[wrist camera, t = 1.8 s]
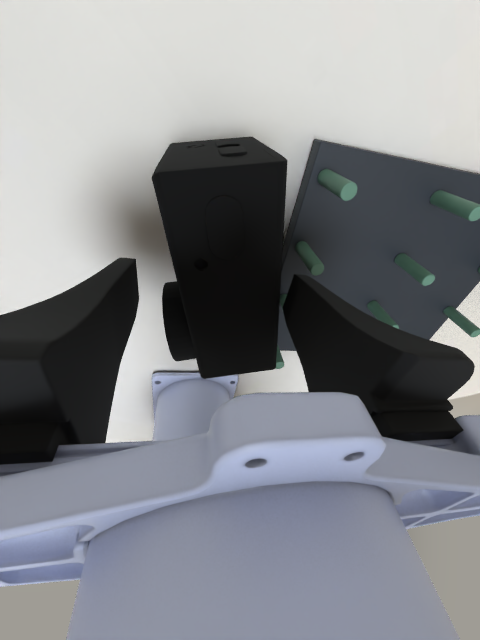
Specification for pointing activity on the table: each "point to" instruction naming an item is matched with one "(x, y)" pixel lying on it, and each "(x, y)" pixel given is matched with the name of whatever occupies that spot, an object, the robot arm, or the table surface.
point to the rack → (385, 238)
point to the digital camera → (223, 252)
